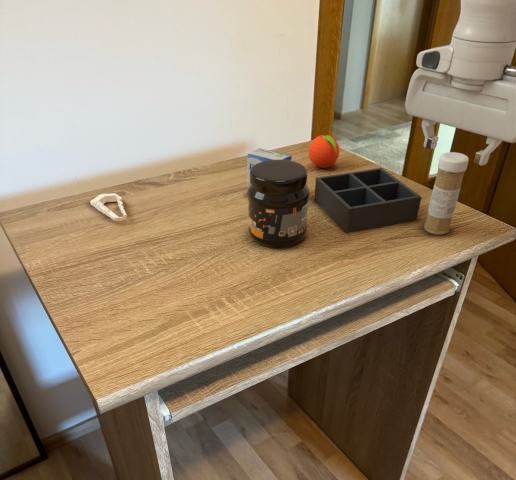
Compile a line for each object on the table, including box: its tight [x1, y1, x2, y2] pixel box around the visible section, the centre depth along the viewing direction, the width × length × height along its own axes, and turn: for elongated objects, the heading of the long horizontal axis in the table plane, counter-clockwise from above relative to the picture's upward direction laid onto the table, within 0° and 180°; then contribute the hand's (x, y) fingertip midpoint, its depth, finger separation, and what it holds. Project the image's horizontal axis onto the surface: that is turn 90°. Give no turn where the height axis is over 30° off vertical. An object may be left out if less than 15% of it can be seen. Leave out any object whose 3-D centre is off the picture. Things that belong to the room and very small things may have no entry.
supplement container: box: [246, 160, 310, 248], centre depth 84 cm, size 10×10×12 cm
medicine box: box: [246, 147, 292, 188], centre depth 98 cm, size 8×4×9 cm, turn 55°
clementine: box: [308, 134, 340, 169], centre depth 109 cm, size 8×7×7 cm
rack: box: [313, 167, 422, 233], centre depth 94 cm, size 15×15×5 cm
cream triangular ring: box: [89, 192, 128, 222], centre depth 96 cm, size 13×5×2 cm, turn 38°
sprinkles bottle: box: [423, 151, 470, 236], centre depth 84 cm, size 5×5×13 cm
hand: (453, 155), depth 80 cm, fingers open, 8 cm apart
